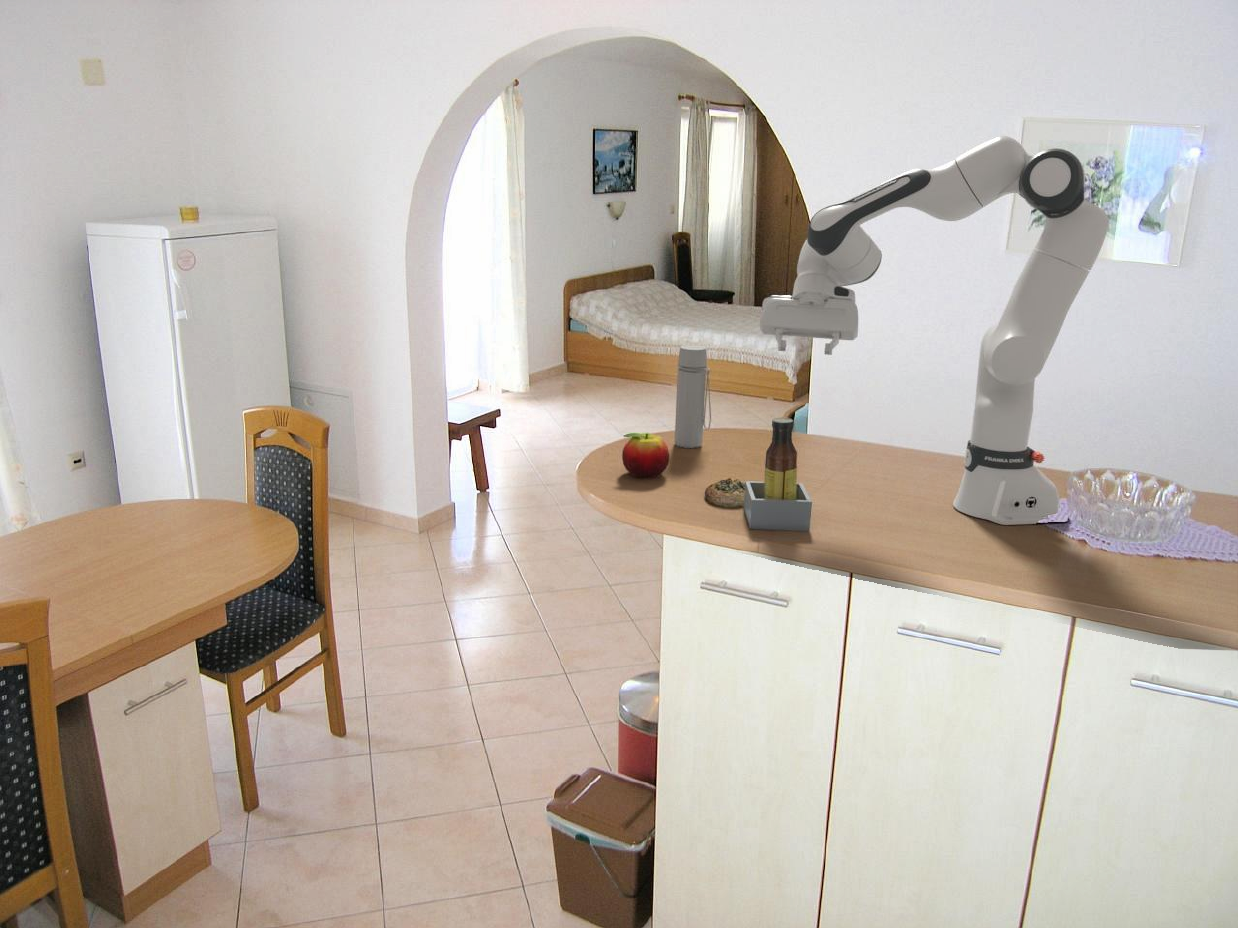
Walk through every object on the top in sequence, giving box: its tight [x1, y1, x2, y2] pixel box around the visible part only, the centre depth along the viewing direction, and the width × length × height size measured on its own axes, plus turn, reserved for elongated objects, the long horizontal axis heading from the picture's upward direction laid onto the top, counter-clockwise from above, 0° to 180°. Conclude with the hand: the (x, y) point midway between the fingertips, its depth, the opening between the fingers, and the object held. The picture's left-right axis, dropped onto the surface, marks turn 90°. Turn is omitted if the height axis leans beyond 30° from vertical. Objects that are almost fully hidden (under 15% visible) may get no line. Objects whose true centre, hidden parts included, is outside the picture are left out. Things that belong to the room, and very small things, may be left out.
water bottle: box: [674, 344, 712, 449], centre depth 237 cm, size 9×8×25 cm
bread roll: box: [704, 477, 745, 508], centre depth 201 cm, size 11×11×5 cm
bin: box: [743, 480, 813, 532], centre depth 190 cm, size 12×12×6 cm
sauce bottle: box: [763, 417, 798, 500], centre depth 186 cm, size 7×6×20 cm
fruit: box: [621, 432, 670, 479], centre depth 215 cm, size 11×11×10 cm
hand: (804, 351), depth 196 cm, fingers open, 8 cm apart
